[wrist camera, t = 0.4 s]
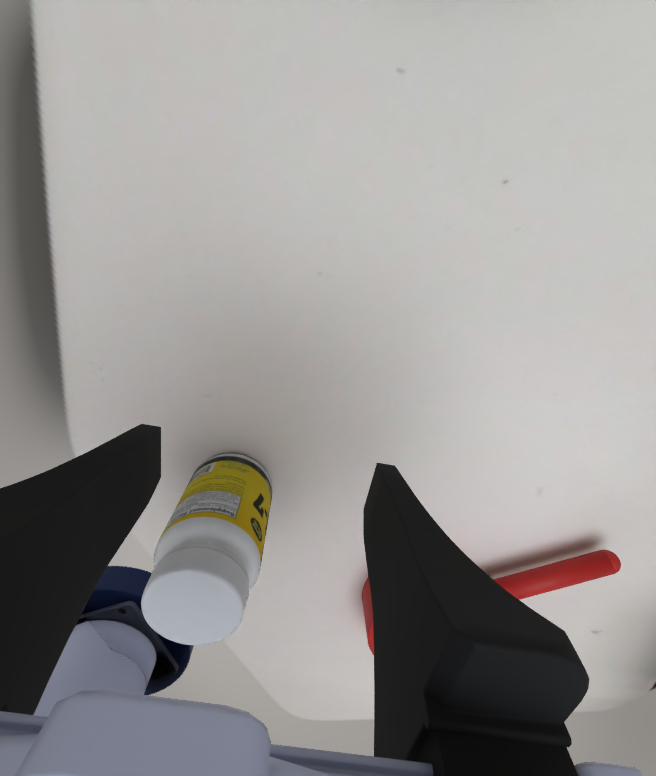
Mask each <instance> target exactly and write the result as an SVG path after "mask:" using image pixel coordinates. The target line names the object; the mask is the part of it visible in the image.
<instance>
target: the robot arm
mask: <svg viewBox="0 0 656 776" xmlns="http://www.w3.org/2000/svg"><path fill="white" fill-rule="evenodd" d="M160 478H161V427H157V426H151V425H145V424H141V425H139V426H137V427H135V428H133V429H131V430H129V431H127V432H125V433H123V434H121V435H119V436H117V437H116V438H114V439H112V440H110V441H108V442H106V443H104V444H102V445H100V446H98V447H97V448H95V449H93V450H91V451H89V452H87V453H85V454H83V455H81V456H78V457H76V458H74V459H72V460H70V461H68V462H66V463H64V464H61V465H59V466H57V467H55V468H53V469H51V470H48V471H46V472H44V473H41V474H39V475H36V476H34V477H31V478H28V479H26V480H23V481H21V482H18V483H15V484H13V485H10V486H7V487H3V488H1V489H0V776H642V774H641V772H640V771H639V770H638V769H636V768H634V767H627V766H620V765H612V764H604V763H596V762H584V763H580V764H577V765H575V766H574V765H573V762H572V760H571V758H570V755H569V752H568V750H567V748H566V747H569V746H570V745H571V737H570V735H569V733H568V731H567V728H566V726H565V724H564V721H565V720H566V719H567V718H568V716H569V715H570V714H571V713H572V712H573V711H574V709H575V708H576V707H577V706H578V704H579V703H580V702H581V701H582V699H583V697H584V696H585V694H586V692H587V690H588V685H589V677H588V675H587V672H586V670H585V668H584V666H583V664H582V662H581V660H580V658H579V656H578V655H577V653H576V651H575V649H574V647H573V645H572V643H571V642H570V640H569V638H568V636H567V635H566V633H565V631H563V630H562V629H560V628H559V627H557V626H556V625H554V624H553V623H551V622H550V621H549V620H547V619H546V618H544V617H543V616H541V615H540V614H538V613H537V612H535V611H534V610H532V609H531V608H529V607H528V606H526V605H525V604H524V603H522V602H521V601H520V600H518V599H517V598H516V597H514V596H513V595H512V594H510V593H509V592H508V591H506V590H505V589H504V588H503V587H501V586H500V585H499V584H498V583H497V582H495V581H494V580H493V579H492V578H491V577H489V576H488V575H487V574H486V573H485V572H484V571H483V570H481V569H480V568H479V567H478V566H477V565H476V564H475V563H474V562H473V561H472V560H470V559H469V558H468V557H467V556H466V555H465V554H464V553H463V552H462V551H461V550H460V549H459V548H458V547H457V546H456V544H455V543H454V542H453V541H452V540H451V539H450V538H449V537H448V536H447V535H446V534H445V533H444V532H443V530H442V529H441V528H440V527H439V526H438V524H437V523H436V522H435V521H434V520H433V518H432V517H431V516H430V515H429V513H428V512H427V511H426V509H425V508H424V507H423V506H422V504H421V503H420V501H419V500H418V499H417V497H416V496H415V495H414V493H413V492H412V490H411V489H410V487H409V486H408V484H407V483H406V481H405V480H404V478H403V477H402V476H401V474H400V473H399V471H398V470H397V468H396V467H395V466H393V465H387V464H381V463H377V465H376V468H375V472H374V475H373V479H372V482H371V486H370V489H369V493H368V496H367V499H366V503H365V506H364V544H365V552H366V560H367V568H368V576H369V584H370V591H371V599H372V610H373V632H374V681H375V728H374V757H373V756H364V755H356V754H347V753H340V752H331V751H323V750H315V749H307V748H298V747H290V746H282V745H273V744H271V741H270V737H269V734H268V731H267V728H266V726H265V725H264V724H263V723H262V722H261V721H260V720H258V719H257V718H256V717H254V716H253V715H251V714H250V713H249V712H246V711H243V710H239V709H236V708H232V707H229V706H225V705H217V704H210V703H202V702H194V701H186V700H178V699H170V698H163V697H155V696H147V695H144V692H145V690H146V687H147V684H148V682H149V681H150V680H154V679H157V678H161V677H165V676H168V675H172V674H175V673H176V672H177V670H178V667H179V666H178V664H177V662H176V661H175V659H174V658H173V657H172V655H171V654H170V652H169V651H168V649H167V648H166V646H165V645H164V644H163V642H162V641H161V639H160V638H159V636H158V635H157V633H156V632H155V630H153V629H152V628H151V626H150V625H149V624H148V623H147V621H146V620H145V618H144V615H143V613H142V612H141V610H140V609H139V607H138V606H137V604H136V603H135V602H133V601H126V602H122V603H119V604H115V605H112V606H109V607H105V608H102V609H98V610H95V611H92V612H88V613H85V614H81V613H82V611H83V609H84V607H85V606H86V604H87V602H88V600H89V598H90V596H91V594H92V592H93V590H94V589H95V587H96V585H97V583H98V581H99V579H100V577H101V576H102V574H103V572H104V571H105V569H106V567H107V566H108V564H109V562H110V561H111V559H112V558H113V556H114V555H115V553H116V552H117V550H118V549H119V547H120V546H121V544H122V543H123V541H124V539H125V538H126V537H127V535H128V534H129V532H130V531H131V529H132V528H133V526H134V525H135V523H136V522H137V520H138V519H139V517H140V516H141V514H142V512H143V511H144V509H145V508H146V506H147V505H148V503H149V501H150V499H151V497H152V495H153V493H154V491H155V489H156V486H157V484H158V482H159V480H160Z"/></svg>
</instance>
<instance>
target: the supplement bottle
mask: <svg viewBox="0 0 656 776" xmlns="http://www.w3.org/2000/svg"><path fill="white" fill-rule="evenodd" d="M271 499H272V485H271V481H270V478H269V476H268V474H267V472H266V471H265V469H264V468H263V467H262V466H261V465H260V464H259V463H257V462H256V461H255V460H253V459H251V458H249V457H247V456H244V455H240V454H221V455H217V456H214V457H211V458H209V459H207V460H206V461H204V462H203V463H202V464H201V465H200V466H199V467H198V468H197V469H196V471H195V473H194V474H193V476H192V478H191V480H190V482H189V484H188V485H187V487H186V489H185V491H184V493H183V495H182V497H181V499H180V501H179V503H178V505H177V507H176V509H175V511H174V512H173V514H172V516H171V518H170V520H169V522H168V524H167V526H166V528H165V530H164V532H163V533H162V535H161V537H160V539H159V542H158V544H157V546H156V549H155V553H154V570H153V572H152V574H151V577H150V579H149V581H148V583H147V586H146V588H145V590H144V593H143V596H142V601H141V606H142V612H143V615H144V618H145V620H146V621H147V623H148V624H149V625H150V626H151V628H152V629H153V630H155V631H156V632H157V633H159V634H160V635H161V636H163V637H165V638H167V639H169V640H171V641H174V642H177V643H181V644H186V645H206V644H211V643H215V642H218V641H220V640H223V639H224V638H226V637H228V636H229V635H230V634H232V633H233V632H234V631H235V630H236V629H237V627H238V626H239V624H240V622H241V620H242V618H243V614H244V609H245V605H246V601H247V599H248V596H249V590H250V589H251V588H252V587H253V585H254V584H255V582H256V580H257V577H258V574H259V571H260V566H261V561H262V554H263V548H264V542H265V536H266V530H267V523H268V517H269V511H270V505H271Z"/></svg>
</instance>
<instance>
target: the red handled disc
mask: <svg viewBox="0 0 656 776" xmlns="http://www.w3.org/2000/svg"><path fill="white" fill-rule="evenodd" d="M620 567H621V563H620V560H619V558H618V557H617V555H616V554H614V553H613V552H611V551H609V550H599V551H595V552H592V553H588V554H584V555H581V556H577V557H573V558H570V559H566V560H563V561H559V562H555V563H552V564H548V565H544V566H541V567H537V568H534V569H530V570H526V571H523V572H519V573H515V574H512V575H508V576H504V577H501V578H497V579H494V581H495V582H497V583H498V584H499V585H500V586H501V587H503V588H504V589H505V590H506V591H508V592H509V593H510V594H512V595H513V596H514V597H516V598H517V599H518V600H519V599H523V598H527V597H530V596H534V595H538V594H542V593H545V592H549V591H553V590H556V589H560V588H564V587H567V586H571V585H575V584H579V583H582V582H586V581H590V580H593V579H597V578H601V577H604V576H608V575H612V574H615V573H617V572H618V571H619V570H620ZM362 601H363V609H364V616H365V623H366V631H367V638H368V644H369V647H370V650H371V652H372V653H373V655H374V632H373V610H372V599H371V591H370V584H369V578H368V579H367V581H366V583H365V586H364V588H363V593H362Z"/></svg>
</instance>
